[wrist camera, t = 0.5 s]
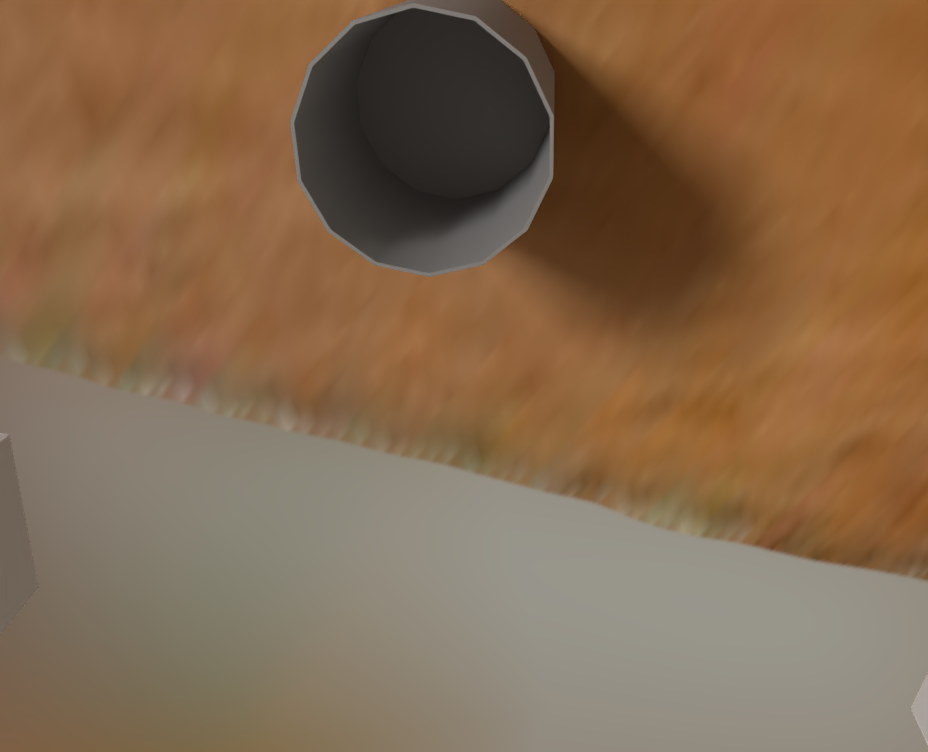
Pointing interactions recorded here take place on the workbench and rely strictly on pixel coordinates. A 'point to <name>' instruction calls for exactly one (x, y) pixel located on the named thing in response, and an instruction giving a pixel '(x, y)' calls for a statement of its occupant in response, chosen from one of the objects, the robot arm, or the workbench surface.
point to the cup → (428, 133)
